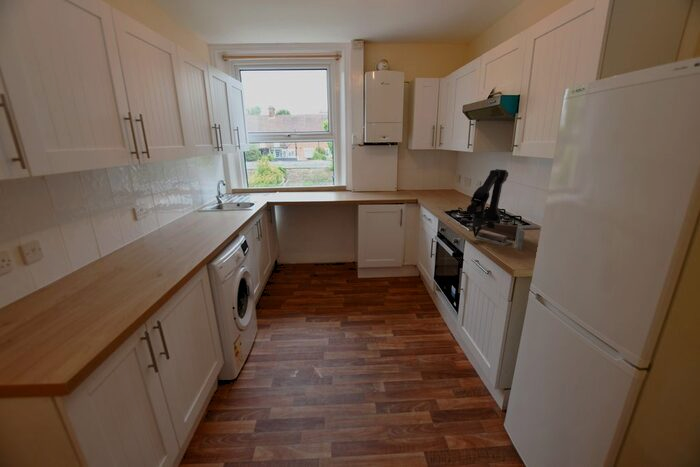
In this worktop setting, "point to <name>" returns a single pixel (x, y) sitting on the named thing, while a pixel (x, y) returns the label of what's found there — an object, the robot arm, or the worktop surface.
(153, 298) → the worktop surface
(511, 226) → the brown piece
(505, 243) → the packaged product
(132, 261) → the worktop surface
